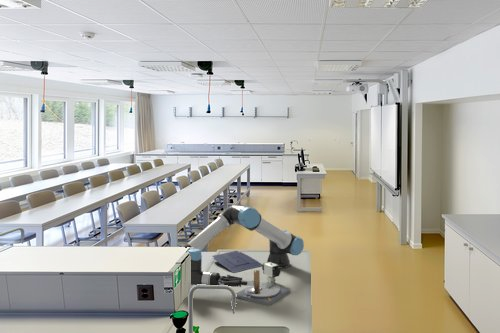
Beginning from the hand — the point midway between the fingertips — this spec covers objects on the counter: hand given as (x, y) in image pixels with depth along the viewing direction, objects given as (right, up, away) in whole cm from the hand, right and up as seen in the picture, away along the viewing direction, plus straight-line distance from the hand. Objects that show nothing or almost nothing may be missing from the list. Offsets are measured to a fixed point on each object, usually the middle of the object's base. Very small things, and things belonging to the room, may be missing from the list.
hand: (253, 283), depth 230 cm
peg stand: (+5, -7, +9) cm, 13 cm away
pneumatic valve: (+11, -7, +28) cm, 31 cm away
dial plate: (+5, -8, +9) cm, 14 cm away
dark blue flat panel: (-11, -4, +64) cm, 65 cm away
